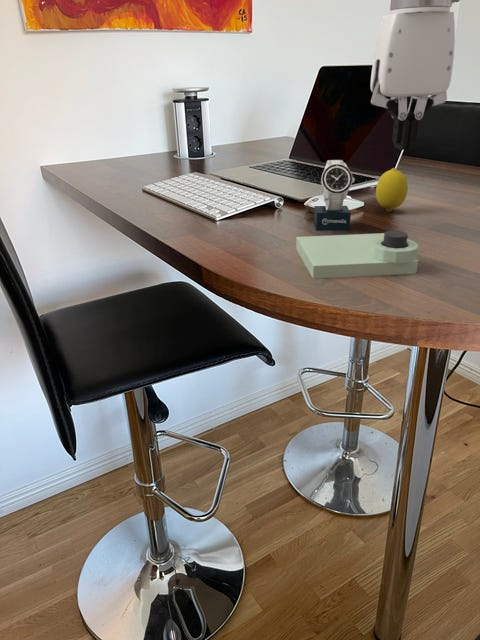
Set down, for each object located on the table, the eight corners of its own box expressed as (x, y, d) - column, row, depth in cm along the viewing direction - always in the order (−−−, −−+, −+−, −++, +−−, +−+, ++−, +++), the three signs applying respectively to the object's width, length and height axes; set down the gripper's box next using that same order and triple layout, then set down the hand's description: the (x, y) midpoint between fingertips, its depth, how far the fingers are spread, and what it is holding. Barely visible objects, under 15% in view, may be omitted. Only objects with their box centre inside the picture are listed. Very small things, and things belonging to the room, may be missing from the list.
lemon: (398, 207, 96) (404, 164, 92) (408, 215, 91) (414, 170, 87) (370, 208, 96) (374, 165, 92) (378, 216, 91) (383, 171, 87)
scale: (388, 244, 77) (391, 222, 75) (421, 275, 66) (425, 250, 64) (295, 248, 76) (296, 226, 74) (313, 280, 65) (315, 255, 63)
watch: (317, 234, 82) (321, 165, 77) (312, 220, 89) (315, 156, 84) (351, 234, 82) (357, 165, 76) (344, 220, 89) (349, 156, 84)
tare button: (401, 242, 68) (402, 229, 67) (409, 249, 66) (411, 236, 65) (379, 243, 68) (381, 230, 67) (387, 250, 65) (389, 237, 65)
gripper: (460, 3, 69) (439, 142, 77) (355, 5, 68) (346, 147, 76) (490, -4, 62) (464, 149, 71) (375, -1, 61) (362, 155, 69)
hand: (403, 148), depth 73 cm, fingers closed
